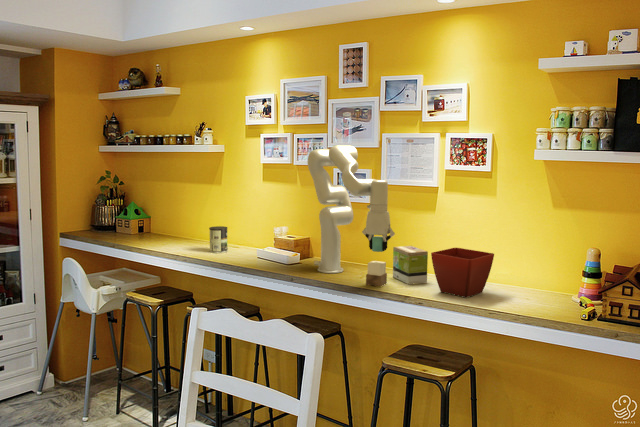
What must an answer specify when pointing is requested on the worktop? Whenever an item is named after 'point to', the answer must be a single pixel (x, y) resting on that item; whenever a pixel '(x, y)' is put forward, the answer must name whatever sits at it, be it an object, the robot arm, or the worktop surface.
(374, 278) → the walnut base block
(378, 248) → the teal block
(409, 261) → the tea box
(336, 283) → the worktop surface
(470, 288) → the plant pot
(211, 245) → the coffee can
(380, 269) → the cream block
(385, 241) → the robot arm
